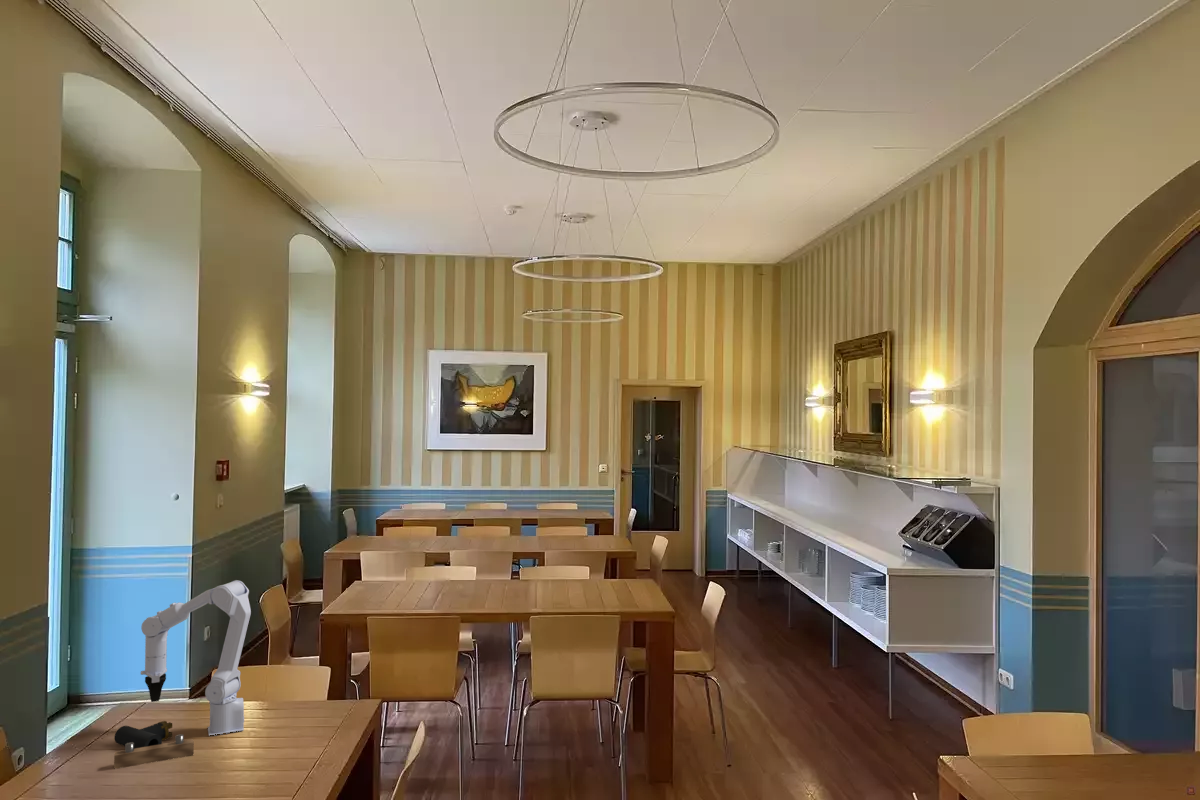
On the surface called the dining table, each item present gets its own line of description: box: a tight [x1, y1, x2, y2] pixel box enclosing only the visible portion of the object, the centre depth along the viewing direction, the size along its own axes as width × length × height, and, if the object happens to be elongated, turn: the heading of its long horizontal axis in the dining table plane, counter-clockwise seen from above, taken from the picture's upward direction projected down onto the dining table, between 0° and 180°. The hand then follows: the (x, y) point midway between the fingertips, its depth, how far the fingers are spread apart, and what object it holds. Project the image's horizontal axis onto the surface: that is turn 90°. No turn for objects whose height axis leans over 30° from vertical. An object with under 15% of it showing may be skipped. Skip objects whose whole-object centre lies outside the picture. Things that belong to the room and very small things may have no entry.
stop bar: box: [113, 733, 195, 769], centre depth 224 cm, size 19×3×6 cm, turn 119°
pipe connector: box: [113, 720, 173, 749], centre depth 236 cm, size 12×5×15 cm
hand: (155, 700), depth 248 cm, fingers closed
